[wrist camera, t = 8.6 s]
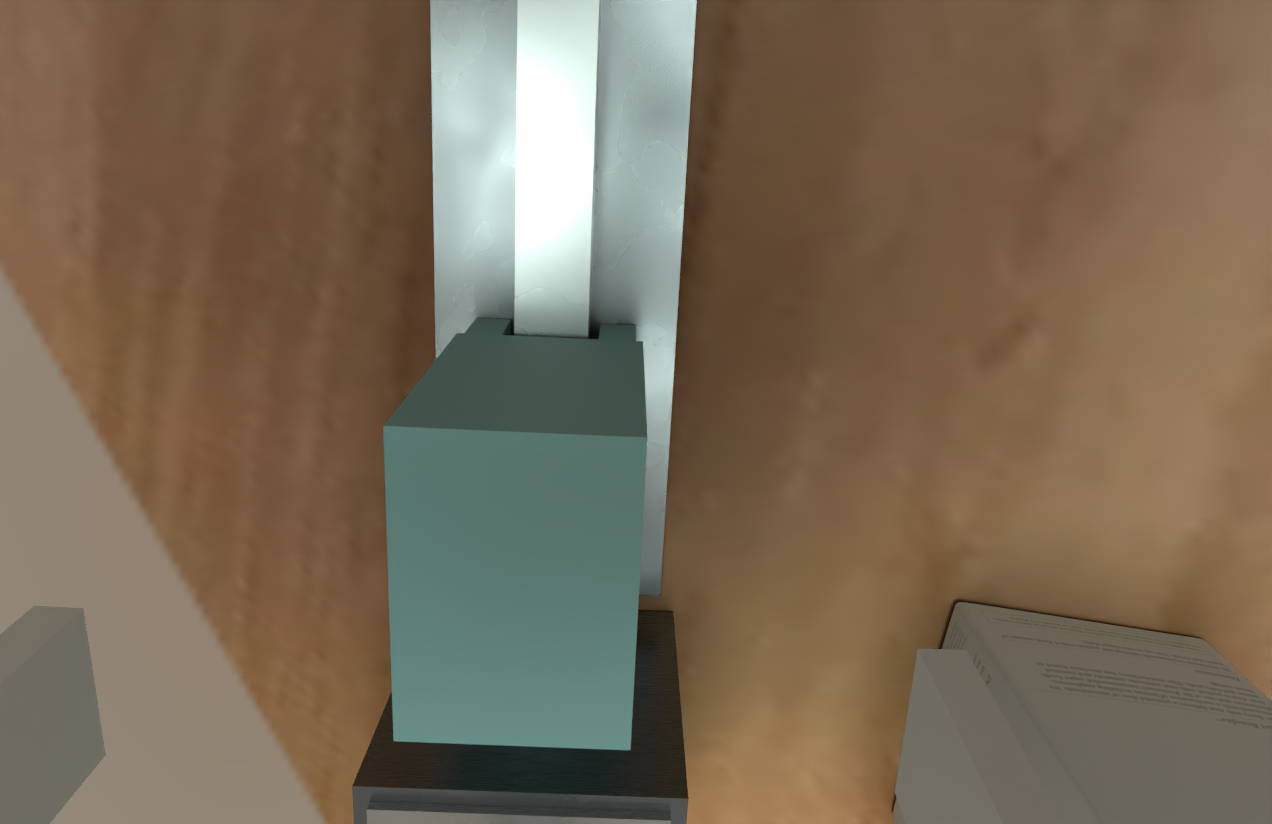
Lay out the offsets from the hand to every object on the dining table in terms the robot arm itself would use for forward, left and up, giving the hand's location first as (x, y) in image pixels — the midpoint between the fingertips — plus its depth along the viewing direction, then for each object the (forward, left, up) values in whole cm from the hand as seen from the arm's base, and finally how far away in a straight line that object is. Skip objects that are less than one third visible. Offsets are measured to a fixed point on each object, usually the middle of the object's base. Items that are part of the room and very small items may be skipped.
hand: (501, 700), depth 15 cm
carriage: (0, 0, -15) cm, 15 cm away
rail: (-4, 0, -15) cm, 16 cm away
